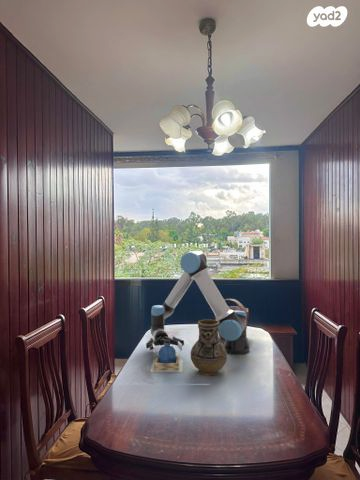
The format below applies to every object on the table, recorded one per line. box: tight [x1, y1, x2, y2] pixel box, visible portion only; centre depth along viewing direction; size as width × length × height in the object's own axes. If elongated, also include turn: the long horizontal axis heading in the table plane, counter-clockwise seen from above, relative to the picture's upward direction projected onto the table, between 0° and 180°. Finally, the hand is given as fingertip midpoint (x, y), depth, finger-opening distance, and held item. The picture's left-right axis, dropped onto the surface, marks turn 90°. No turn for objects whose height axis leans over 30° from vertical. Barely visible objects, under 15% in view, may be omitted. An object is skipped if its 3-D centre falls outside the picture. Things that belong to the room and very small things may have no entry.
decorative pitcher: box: [190, 318, 228, 376], centre depth 171 cm, size 22×18×25 cm
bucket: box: [214, 298, 250, 342], centre depth 229 cm, size 24×22×25 cm
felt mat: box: [149, 359, 184, 373], centre depth 179 cm, size 16×16×1 cm
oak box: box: [154, 354, 180, 370], centre depth 179 cm, size 12×12×3 cm
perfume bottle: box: [158, 339, 177, 363], centre depth 179 cm, size 6×6×12 cm
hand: (168, 348), depth 176 cm, fingers open, 13 cm apart
